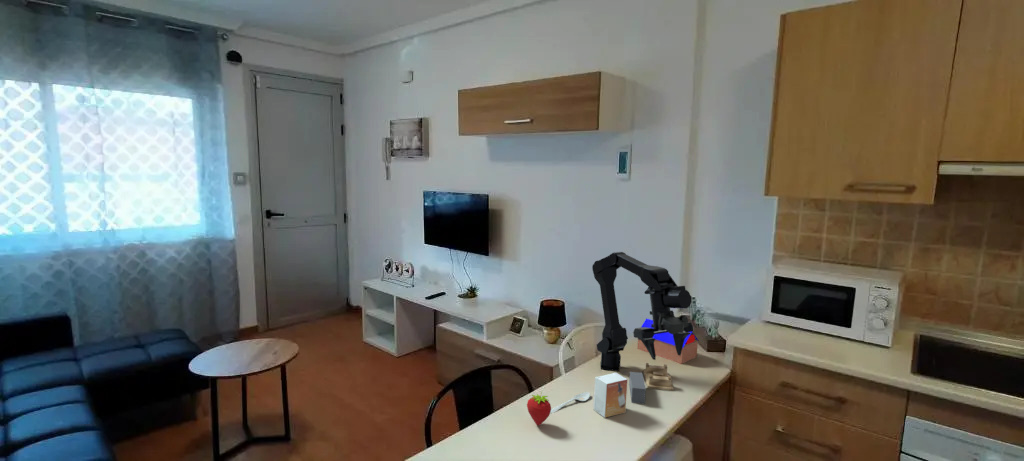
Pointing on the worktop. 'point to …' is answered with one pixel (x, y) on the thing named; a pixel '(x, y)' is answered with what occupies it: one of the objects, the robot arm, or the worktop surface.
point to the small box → (610, 394)
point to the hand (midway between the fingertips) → (666, 357)
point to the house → (671, 345)
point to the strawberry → (539, 408)
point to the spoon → (582, 395)
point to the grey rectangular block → (637, 388)
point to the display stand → (657, 377)
